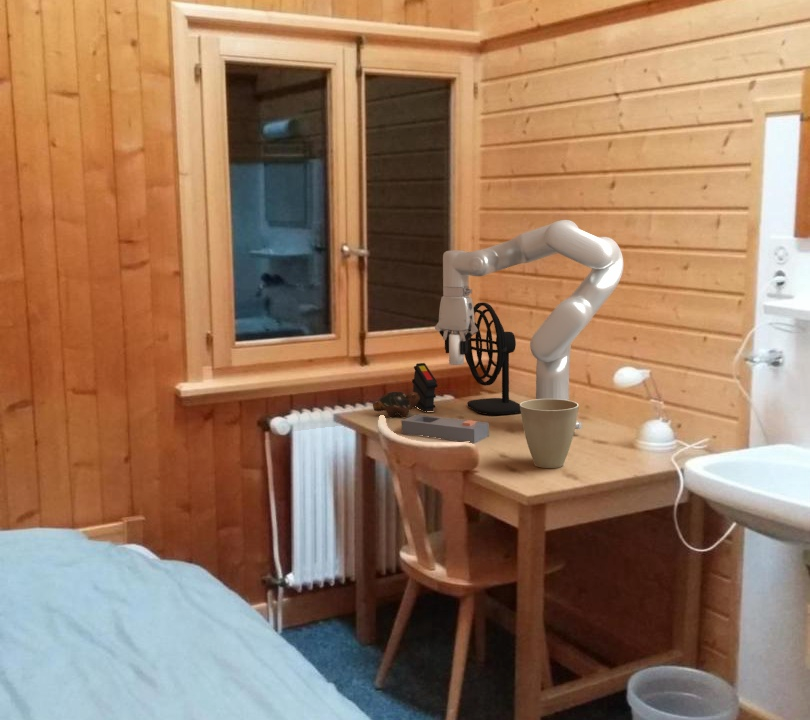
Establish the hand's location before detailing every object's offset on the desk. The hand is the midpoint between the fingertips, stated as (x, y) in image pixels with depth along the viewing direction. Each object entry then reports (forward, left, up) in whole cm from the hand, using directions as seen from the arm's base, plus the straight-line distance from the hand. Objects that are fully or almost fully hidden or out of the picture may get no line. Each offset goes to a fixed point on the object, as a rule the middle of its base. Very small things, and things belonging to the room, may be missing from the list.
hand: (456, 352), depth 292 cm
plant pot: (-41, +27, -23) cm, 54 cm away
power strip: (-2, +12, -22) cm, 26 cm away
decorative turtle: (+24, -3, -23) cm, 33 cm away
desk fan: (+1, -25, -23) cm, 34 cm away
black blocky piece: (+20, -14, -23) cm, 33 cm away
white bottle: (0, 0, -3) cm, 3 cm away
